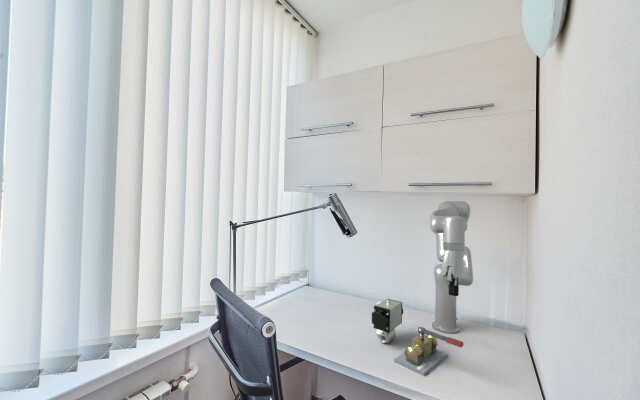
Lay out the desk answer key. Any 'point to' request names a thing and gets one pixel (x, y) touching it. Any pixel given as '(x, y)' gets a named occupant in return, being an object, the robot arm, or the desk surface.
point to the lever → (441, 337)
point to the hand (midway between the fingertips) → (453, 295)
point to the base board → (427, 362)
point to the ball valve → (387, 319)
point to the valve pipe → (420, 348)
